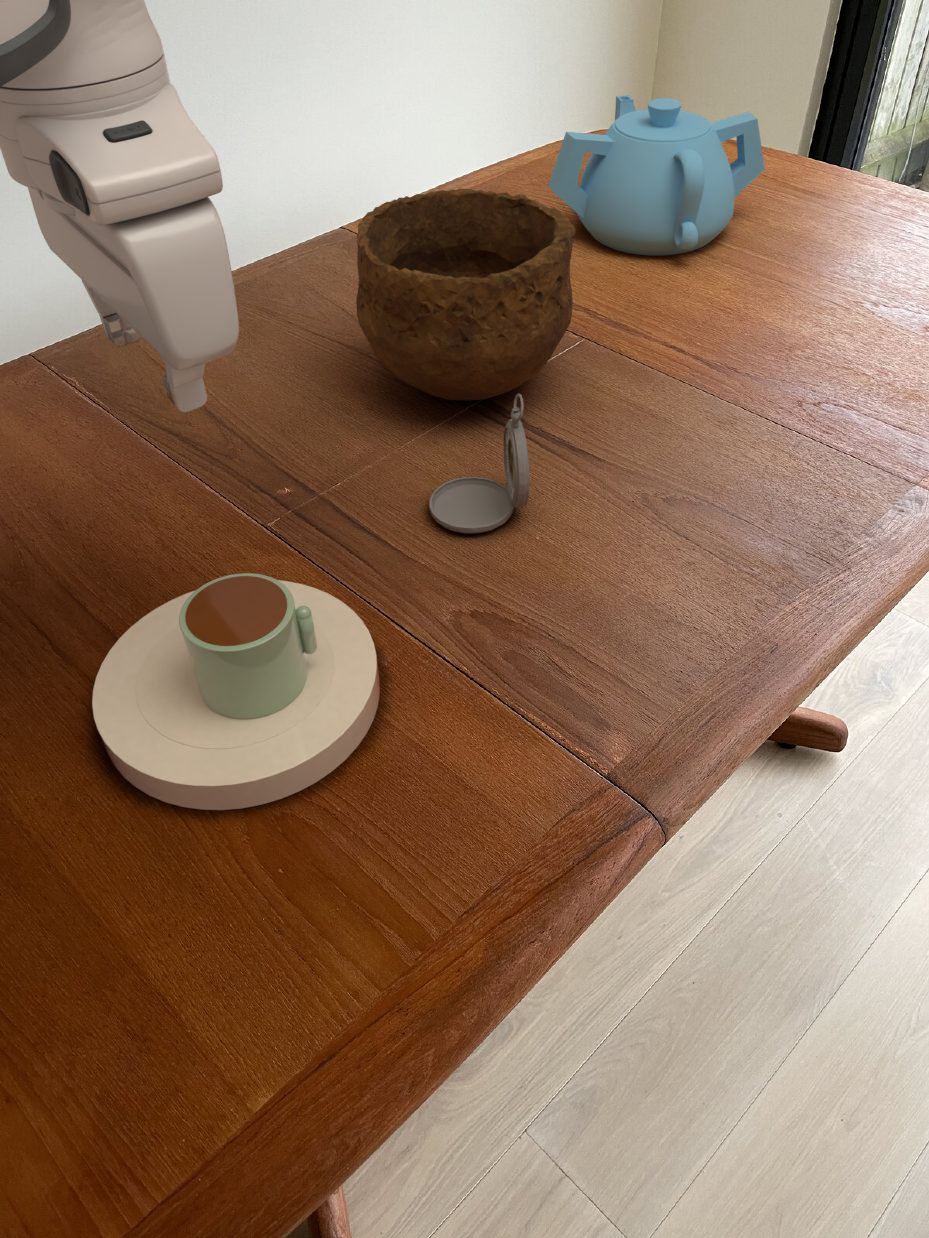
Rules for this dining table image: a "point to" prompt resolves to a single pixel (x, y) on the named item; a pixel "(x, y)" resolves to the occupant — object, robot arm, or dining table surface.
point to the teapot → (657, 177)
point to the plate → (227, 747)
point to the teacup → (247, 644)
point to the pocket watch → (487, 488)
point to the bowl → (464, 289)
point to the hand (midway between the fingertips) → (155, 370)
